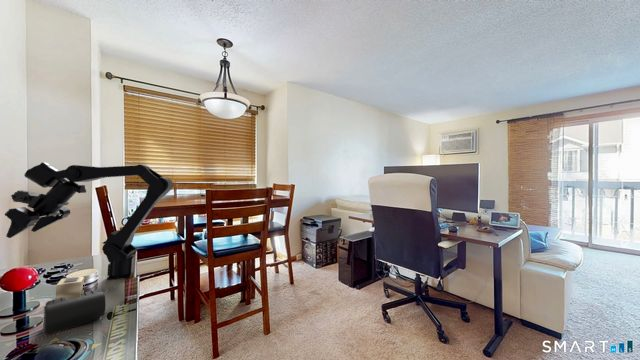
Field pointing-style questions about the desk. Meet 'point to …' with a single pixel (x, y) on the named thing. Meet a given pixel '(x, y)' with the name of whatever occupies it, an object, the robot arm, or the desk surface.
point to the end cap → (73, 311)
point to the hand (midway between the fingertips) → (21, 234)
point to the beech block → (70, 288)
